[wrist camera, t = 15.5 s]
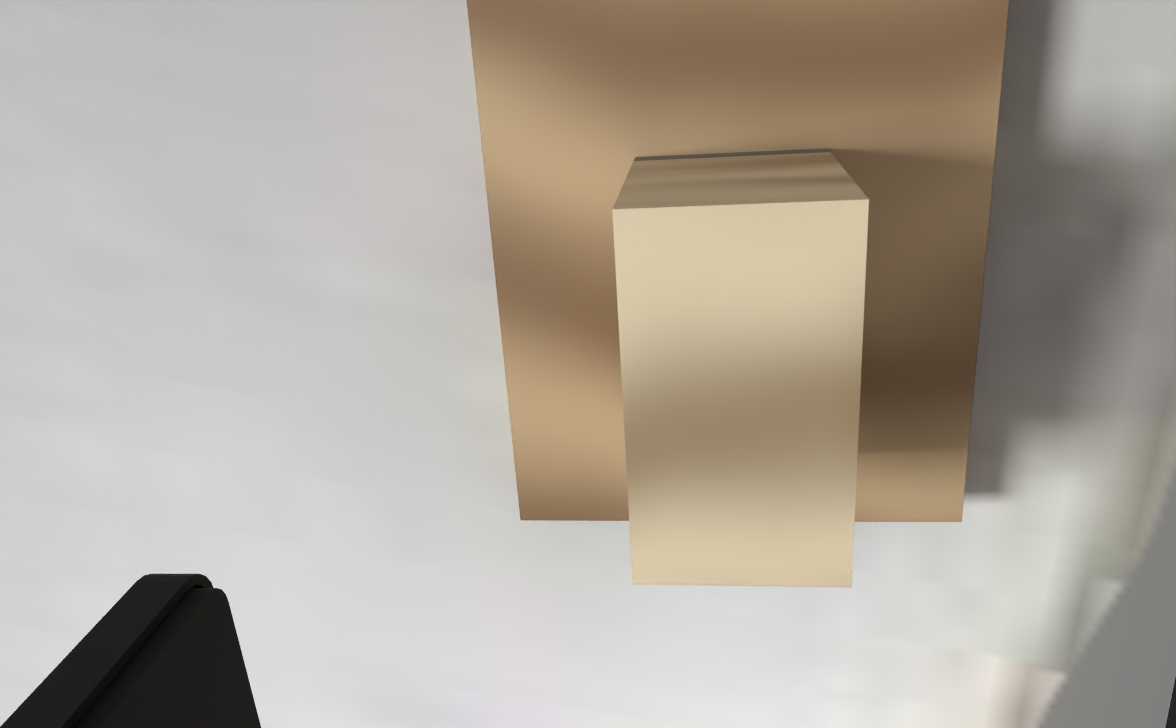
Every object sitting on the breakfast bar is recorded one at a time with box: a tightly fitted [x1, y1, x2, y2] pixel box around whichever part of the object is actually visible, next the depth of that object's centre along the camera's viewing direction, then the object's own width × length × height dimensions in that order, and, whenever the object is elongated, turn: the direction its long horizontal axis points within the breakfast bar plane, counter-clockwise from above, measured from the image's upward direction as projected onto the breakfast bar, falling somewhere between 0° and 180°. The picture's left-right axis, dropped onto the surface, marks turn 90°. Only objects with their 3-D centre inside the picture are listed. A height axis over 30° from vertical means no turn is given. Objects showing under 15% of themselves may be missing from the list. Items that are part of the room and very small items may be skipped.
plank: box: [467, 0, 1009, 522], centre depth 22 cm, size 26×12×2 cm, turn 4°
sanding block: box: [612, 148, 869, 587], centre depth 21 cm, size 8×4×6 cm, turn 4°
